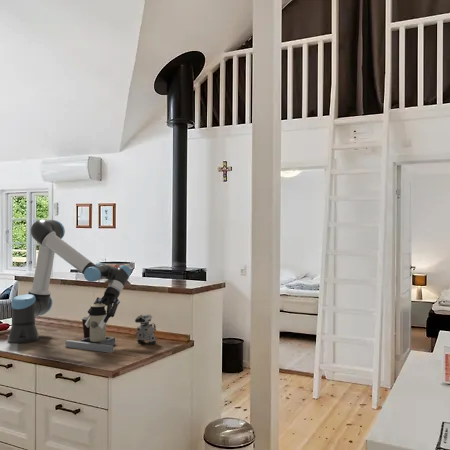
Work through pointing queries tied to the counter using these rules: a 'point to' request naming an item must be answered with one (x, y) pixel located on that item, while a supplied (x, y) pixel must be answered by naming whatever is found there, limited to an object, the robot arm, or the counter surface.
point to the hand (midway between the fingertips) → (93, 326)
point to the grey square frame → (106, 342)
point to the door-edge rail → (89, 346)
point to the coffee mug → (85, 328)
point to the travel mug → (97, 323)
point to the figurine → (145, 329)
